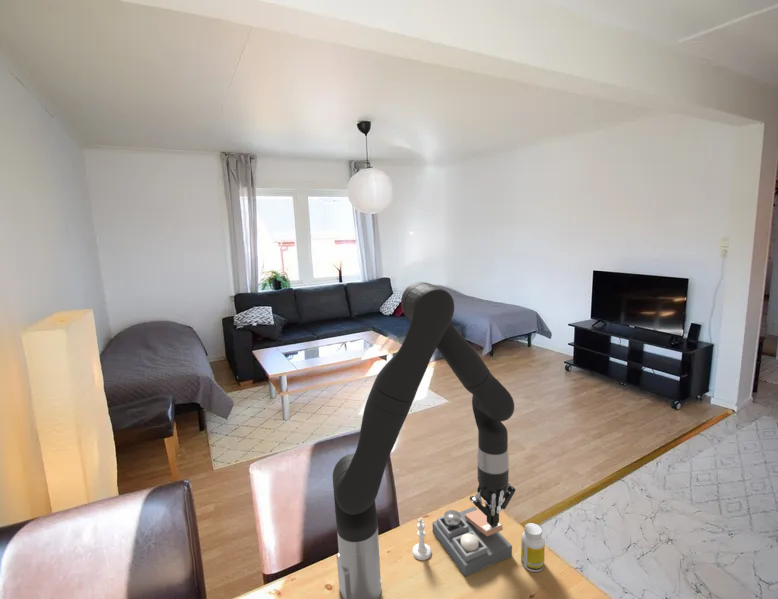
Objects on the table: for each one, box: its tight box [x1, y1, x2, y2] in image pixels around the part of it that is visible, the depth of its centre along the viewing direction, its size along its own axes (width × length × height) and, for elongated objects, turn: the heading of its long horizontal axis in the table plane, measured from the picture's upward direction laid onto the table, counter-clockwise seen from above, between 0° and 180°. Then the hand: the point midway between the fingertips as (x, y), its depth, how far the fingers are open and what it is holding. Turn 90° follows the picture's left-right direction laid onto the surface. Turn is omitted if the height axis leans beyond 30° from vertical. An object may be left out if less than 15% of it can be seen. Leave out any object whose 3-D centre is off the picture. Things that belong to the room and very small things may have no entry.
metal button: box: [443, 509, 461, 528], centre depth 108 cm, size 4×4×2 cm
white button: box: [461, 534, 479, 553], centre depth 101 cm, size 4×4×2 cm
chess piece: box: [412, 517, 432, 561], centre depth 104 cm, size 5×5×10 cm
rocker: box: [465, 508, 504, 536], centre depth 108 cm, size 5×10×1 cm, turn 23°
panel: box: [431, 506, 513, 577], centre depth 107 cm, size 14×16×4 cm
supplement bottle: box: [520, 522, 546, 573], centre depth 99 cm, size 5×5×10 cm
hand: (492, 524), depth 103 cm, fingers closed
